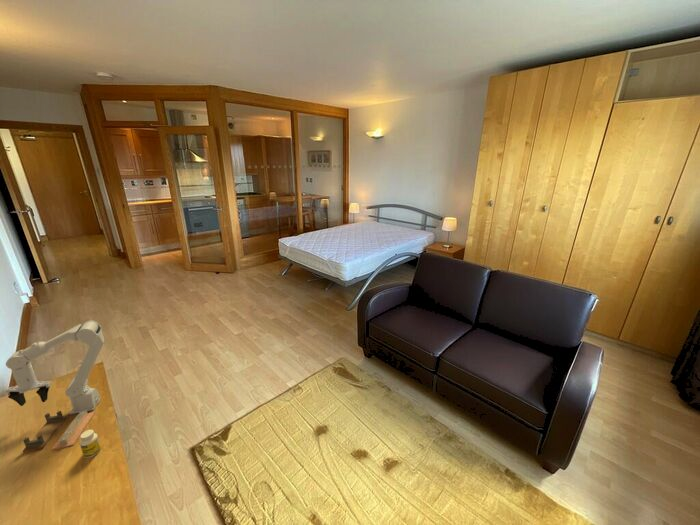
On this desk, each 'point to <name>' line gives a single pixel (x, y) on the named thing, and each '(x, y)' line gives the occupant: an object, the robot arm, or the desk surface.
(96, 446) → the supplement bottle
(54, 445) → the mat
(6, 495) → the desk surface
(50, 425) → the hook stand
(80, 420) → the steel rail
